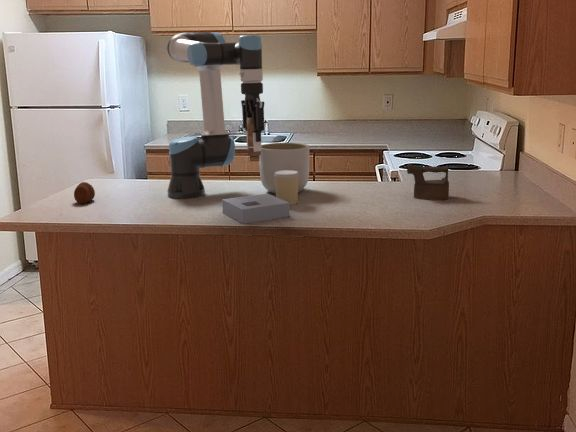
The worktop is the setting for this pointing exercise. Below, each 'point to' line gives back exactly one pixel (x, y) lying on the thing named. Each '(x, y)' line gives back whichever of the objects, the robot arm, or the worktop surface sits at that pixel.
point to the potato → (84, 193)
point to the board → (255, 208)
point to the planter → (284, 163)
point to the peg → (251, 141)
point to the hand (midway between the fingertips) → (254, 150)
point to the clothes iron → (429, 183)
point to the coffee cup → (287, 185)
